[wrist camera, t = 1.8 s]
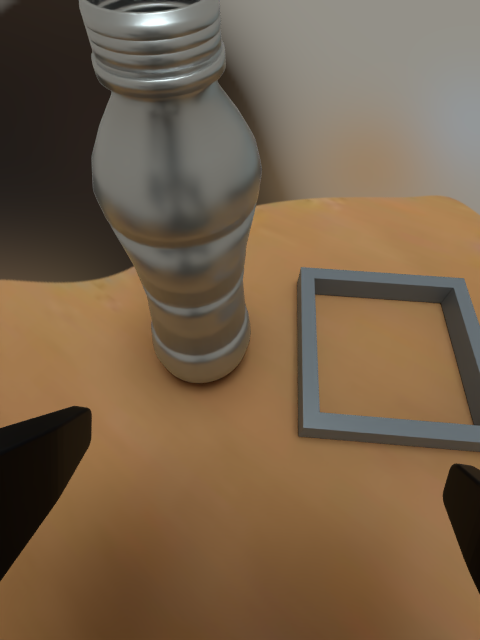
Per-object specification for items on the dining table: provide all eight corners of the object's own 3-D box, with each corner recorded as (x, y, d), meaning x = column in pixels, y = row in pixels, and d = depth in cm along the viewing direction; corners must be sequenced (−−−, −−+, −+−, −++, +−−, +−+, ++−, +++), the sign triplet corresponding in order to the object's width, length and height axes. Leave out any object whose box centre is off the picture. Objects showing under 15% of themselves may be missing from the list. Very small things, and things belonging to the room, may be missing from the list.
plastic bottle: (140, 361, 25) (-48, -2, 9) (199, 298, 28) (146, -61, 12) (212, 411, 24) (152, 72, 7) (267, 339, 27) (321, -22, 10)
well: (497, 453, 22) (519, 445, 21) (298, 436, 23) (303, 427, 21) (450, 293, 29) (463, 278, 27) (297, 283, 29) (300, 267, 28)
